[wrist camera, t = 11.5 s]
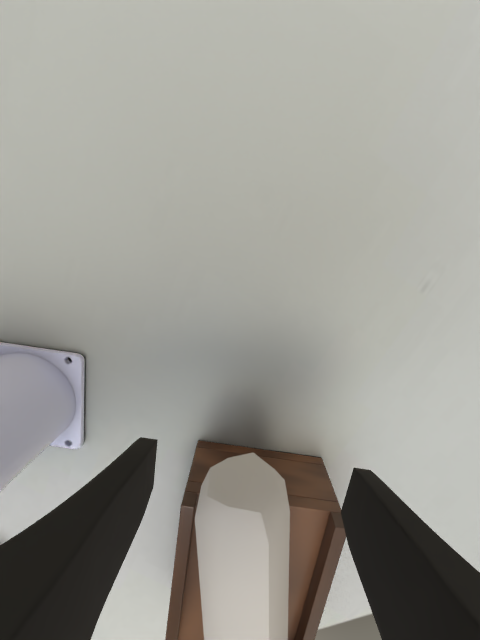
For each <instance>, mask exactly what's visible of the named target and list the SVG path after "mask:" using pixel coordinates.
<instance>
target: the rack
mask: <svg viewBox="0 0 480 640" xmlns="http://www.w3.org/2000/svg"><path fill="white" fill-rule="evenodd" d="M248 453H255V454H256V455H257V456H258V457H260V458H261V459H262V460H263V461H265V462H266V463H267V464H269V465H270V466H271V467H272V468H274V469H275V470H276V471H277V472H278V473H279V474H280V475H281V477H282V478H283V479H284V480H285V485H286V491H287V496H288V502H289V508H290V539H289V592H288V640H314V639H315V636H316V633H317V630H318V627H319V623H320V620H321V617H322V613H323V610H324V607H325V604H326V600H327V597H328V594H329V591H330V587H331V584H332V581H333V578H334V574H335V571H336V568H337V564H338V561H339V558H340V555H341V551H342V548H343V545H344V542H345V538H346V533H345V529H344V525H343V520H342V516H341V508H340V505H339V503H338V500H337V497H336V495H335V492H334V489H333V487H332V484H331V481H330V479H329V476H328V473H327V471H326V468H325V466H324V463H323V460H322V458H319V457H312V456H305V455H298V454H291V453H284V452H277V451H270V450H263V449H256V448H249V447H242V446H235V445H228V444H221V443H214V442H207V441H200V440H198V443H197V447H196V451H195V455H194V458H193V462H192V466H191V470H190V474H189V478H188V482H187V485H186V489H185V493H184V497H183V500H182V504H181V511H180V520H179V528H178V537H177V545H176V554H175V562H174V571H173V579H172V588H171V596H170V605H169V613H168V621H167V630H166V638H165V640H204V631H203V618H202V606H201V593H200V580H199V567H198V554H197V541H196V528H195V515H196V510H197V505H198V500H199V495H200V490H201V485H202V483H203V481H204V479H205V477H206V475H207V473H208V471H209V469H210V468H211V467H213V466H214V465H216V464H218V463H220V462H222V461H224V460H225V459H227V458H230V457H235V456H239V455H244V454H248Z"/></svg>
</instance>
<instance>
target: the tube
mask: <svg viewBox="0 0 480 640" xmlns="http://www.w3.org/2000/svg"><path fill="white" fill-rule="evenodd" d="M195 528H196V541H197V554H198V567H199V580H200V593H201V606H202V618H203V631H204V640H288V592H289V539H290V508H289V502H288V496H287V491H286V485H285V480H284V479H283V478H282V477H281V475H280V474H279V473H278V472H277V471H276V470H275V469H274V468H272V467H271V466H270V465H269V464H267V463H266V462H265V461H263V460H262V459H261V458H260V457H258V456H257V455H256V454H255V453H248V454H244V455H239V456H235V457H230V458H227V459H225V460H224V461H222V462H220V463H218V464H216V465H214V466H213V467H211V468H210V469H209V471H208V473H207V475H206V477H205V479H204V481H203V483H202V485H201V490H200V495H199V500H198V505H197V510H196V515H195Z"/></svg>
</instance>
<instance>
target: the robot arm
mask: <svg viewBox="0 0 480 640" xmlns="http://www.w3.org/2000/svg"><path fill="white" fill-rule="evenodd" d="M68 357H69V358H71V360H72V362H71V361H69V360H68ZM84 376H85V360H84V357H83V356H82V355H81V354H78V353H72V352H65V351H58V350H51V349H45V348H38V347H31V346H24V345H17V344H10V343H3V342H0V491H2V490H3V489H4V488H5V487H6V486H7V485H8V484H9V483H10V482H11V481H12V480H13V479H14V478H15V477H16V476H17V475H18V474H19V473H20V472H21V471H22V470H23V469H24V468H26V467H27V466H28V465H29V464H30V463H31V462H32V461H33V460H34V459H35V458H36V457H37V456H38V455H39V454H40V453H41V452H42V451H43V450H44V449H45V448H46V447H47V446H48V445H49V446H56V447H63V448H70V449H79V448H80V447H81V446H82V445H83V443H84ZM69 441H71V442H69ZM156 450H157V440H155V439H148V438H139V439H138V440H136V441H135V442H134V443H133V444H132V445H131V446H130V447H129V448H128V449H127V450H126V451H124V452H123V453H122V454H121V455H120V456H119V457H118V458H117V459H116V460H114V461H113V462H112V463H111V464H110V465H109V466H108V467H106V468H105V469H104V470H103V471H102V472H101V473H99V474H98V475H97V476H96V477H95V478H93V479H92V480H91V481H90V482H89V483H87V484H86V485H85V486H84V487H82V488H81V489H80V490H79V491H77V492H76V493H75V494H73V495H72V496H71V497H70V498H68V499H67V500H66V501H64V502H63V503H62V504H60V505H59V506H58V507H56V508H55V509H54V510H52V511H51V512H50V513H48V514H47V515H45V516H44V517H43V518H41V519H40V520H38V521H37V522H35V523H34V524H32V525H31V526H29V527H28V528H27V529H25V530H24V531H22V532H21V533H19V534H18V535H16V536H14V537H13V538H11V539H10V540H8V541H7V542H5V543H3V544H2V545H0V640H90V639H91V637H92V634H93V631H94V629H95V626H96V623H97V621H98V618H99V616H100V613H101V611H102V609H103V606H104V604H105V601H106V599H107V597H108V594H109V592H110V590H111V588H112V586H113V583H114V581H115V579H116V577H117V574H118V572H119V570H120V568H121V566H122V563H123V561H124V559H125V557H126V554H127V552H128V550H129V548H130V546H131V543H132V541H133V539H134V537H135V534H136V532H137V530H138V528H139V525H140V523H141V521H142V518H143V516H144V513H145V510H146V507H147V504H148V501H149V498H150V495H151V492H152V489H153V484H154V473H155V461H156ZM341 516H342V520H343V525H344V529H345V533H346V537H347V541H348V545H349V548H350V551H351V554H352V557H353V560H354V563H355V565H356V568H357V571H358V574H359V577H360V579H361V582H362V585H363V588H364V591H365V593H366V596H367V599H368V602H369V604H370V607H371V610H372V613H373V615H374V618H375V621H376V624H377V626H378V629H379V632H380V635H381V638H382V640H480V573H479V572H478V571H477V570H476V569H475V568H474V567H472V566H471V565H470V564H469V563H468V562H467V561H466V560H465V559H463V558H462V557H461V556H460V555H459V554H458V553H457V552H456V551H455V550H453V549H452V548H451V547H450V546H449V545H448V544H447V543H446V542H445V541H444V540H443V539H441V538H440V537H439V536H438V535H437V534H436V533H435V532H434V531H433V530H432V529H431V528H430V527H429V526H428V525H427V524H426V523H424V522H423V521H422V520H421V519H420V518H419V517H418V516H417V515H416V514H415V513H414V512H413V511H412V510H411V509H410V508H409V507H408V506H407V505H406V504H405V503H404V502H403V501H402V500H401V499H400V498H399V497H398V496H397V495H396V494H395V493H394V492H393V491H392V490H391V489H390V488H389V487H388V486H387V485H386V484H385V483H384V482H383V481H382V480H381V479H380V478H378V477H377V476H376V475H375V474H374V473H373V472H372V471H371V470H366V469H359V468H354V469H353V473H352V476H351V480H350V483H349V486H348V490H347V493H346V497H345V500H344V503H343V507H342V510H341Z"/></svg>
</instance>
